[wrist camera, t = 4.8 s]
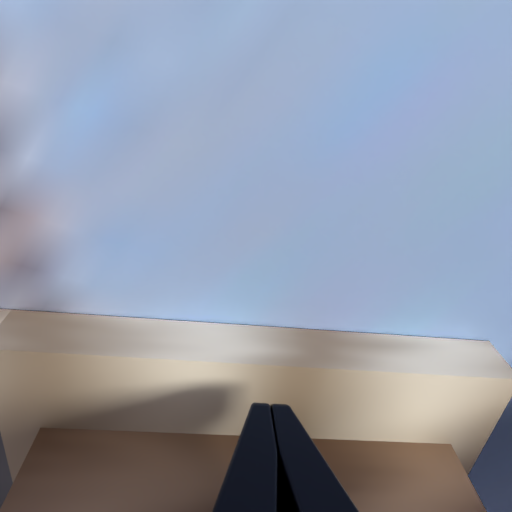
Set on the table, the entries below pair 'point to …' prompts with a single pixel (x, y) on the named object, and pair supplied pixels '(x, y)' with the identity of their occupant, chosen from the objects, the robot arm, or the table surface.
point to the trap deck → (240, 381)
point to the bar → (221, 473)
